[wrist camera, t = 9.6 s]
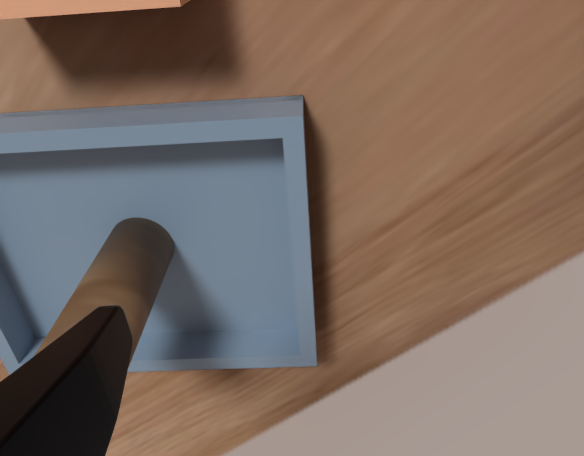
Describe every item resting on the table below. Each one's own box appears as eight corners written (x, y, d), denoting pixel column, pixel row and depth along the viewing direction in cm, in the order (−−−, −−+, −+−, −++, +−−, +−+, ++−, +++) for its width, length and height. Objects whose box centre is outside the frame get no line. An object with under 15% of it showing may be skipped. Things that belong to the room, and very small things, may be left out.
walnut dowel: (167, 215, 22) (95, 370, 15) (179, 268, 24) (120, 432, 16) (102, 219, 22) (-2, 372, 15) (119, 271, 24) (33, 434, 16)
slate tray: (303, 95, 20) (302, 115, 18) (316, 331, 27) (317, 366, 24) (-75, 117, 21) (-119, 140, 18) (32, 340, 27) (9, 375, 25)
